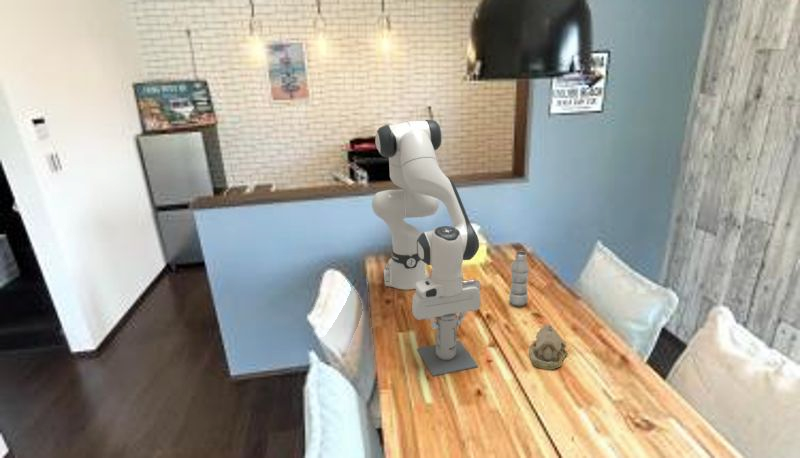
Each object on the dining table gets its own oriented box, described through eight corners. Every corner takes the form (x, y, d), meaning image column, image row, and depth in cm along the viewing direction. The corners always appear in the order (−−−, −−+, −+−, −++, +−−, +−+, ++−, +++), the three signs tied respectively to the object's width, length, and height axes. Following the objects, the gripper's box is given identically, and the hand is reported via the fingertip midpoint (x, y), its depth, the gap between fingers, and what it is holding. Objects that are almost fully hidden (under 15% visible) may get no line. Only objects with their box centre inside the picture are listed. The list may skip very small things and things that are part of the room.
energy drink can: (454, 363, 135) (455, 319, 130) (434, 359, 137) (434, 316, 131) (457, 350, 141) (458, 308, 135) (437, 347, 142) (438, 305, 137)
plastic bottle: (531, 306, 167) (534, 254, 161) (515, 309, 165) (518, 258, 158) (520, 298, 173) (523, 248, 166) (505, 302, 170) (507, 251, 164)
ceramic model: (530, 341, 146) (532, 313, 143) (567, 346, 143) (570, 318, 139) (526, 366, 134) (528, 337, 130) (567, 373, 130) (570, 343, 127)
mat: (417, 349, 143) (417, 348, 143) (459, 341, 147) (459, 340, 147) (432, 376, 130) (432, 375, 130) (478, 367, 134) (478, 365, 134)
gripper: (475, 274, 136) (474, 315, 140) (409, 284, 131) (410, 326, 135) (485, 282, 130) (484, 325, 135) (416, 293, 125) (417, 338, 130)
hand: (446, 326), depth 135 cm, fingers closed on energy drink can, 6 cm apart
